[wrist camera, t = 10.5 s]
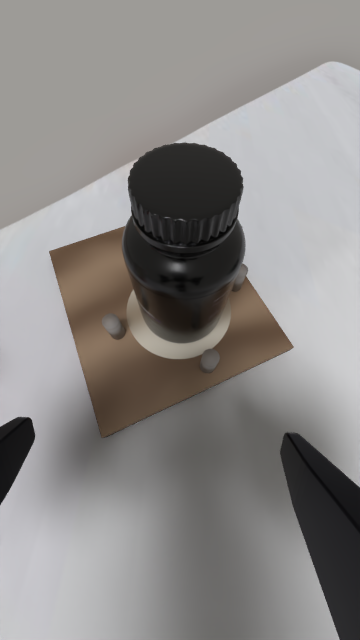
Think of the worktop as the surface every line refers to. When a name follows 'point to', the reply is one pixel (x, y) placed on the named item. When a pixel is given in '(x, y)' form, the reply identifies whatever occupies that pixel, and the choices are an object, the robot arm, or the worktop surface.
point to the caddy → (151, 337)
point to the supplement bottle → (183, 238)
